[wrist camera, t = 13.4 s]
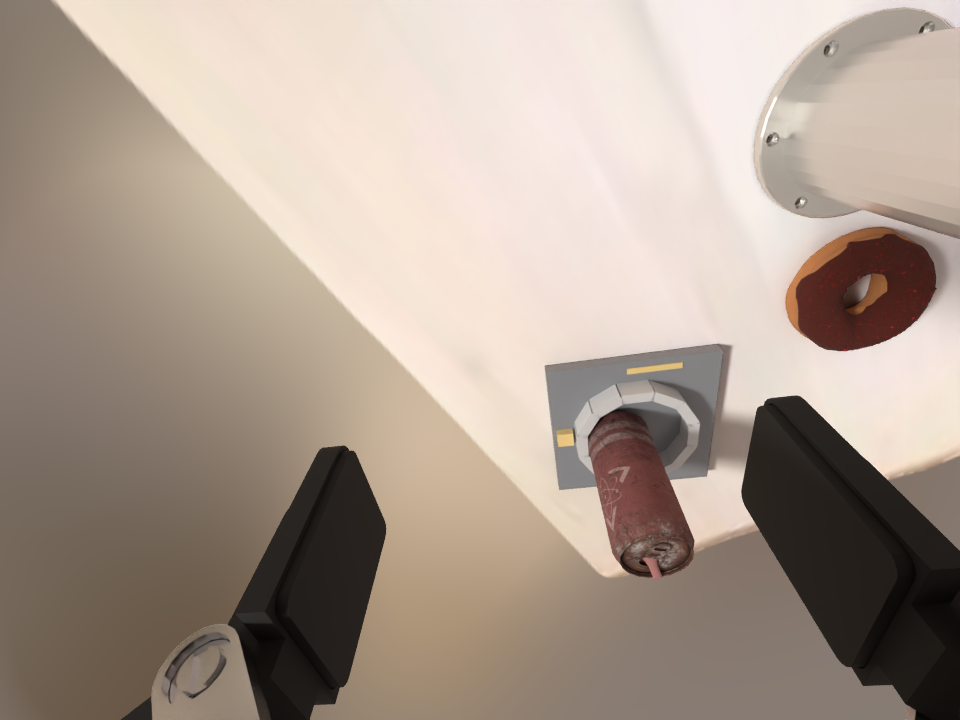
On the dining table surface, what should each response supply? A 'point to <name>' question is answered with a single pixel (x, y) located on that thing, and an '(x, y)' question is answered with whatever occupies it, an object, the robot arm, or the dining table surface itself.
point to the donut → (890, 297)
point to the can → (638, 498)
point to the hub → (636, 407)
